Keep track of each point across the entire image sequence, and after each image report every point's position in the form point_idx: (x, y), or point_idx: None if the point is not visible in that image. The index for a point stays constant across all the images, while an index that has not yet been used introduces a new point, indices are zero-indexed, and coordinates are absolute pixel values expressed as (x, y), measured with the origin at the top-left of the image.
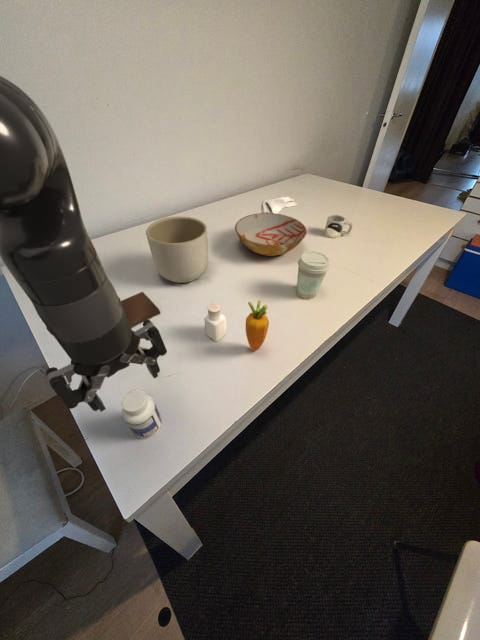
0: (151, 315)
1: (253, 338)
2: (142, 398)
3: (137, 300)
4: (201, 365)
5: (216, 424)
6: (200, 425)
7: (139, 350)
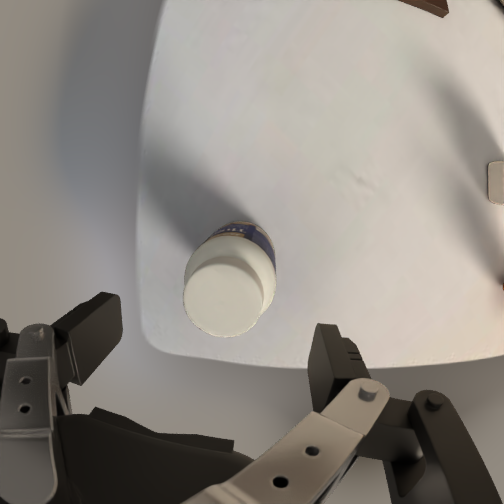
0: (424, 5)
1: None
2: (244, 318)
3: None
4: (429, 222)
5: None
6: None
7: (328, 493)
